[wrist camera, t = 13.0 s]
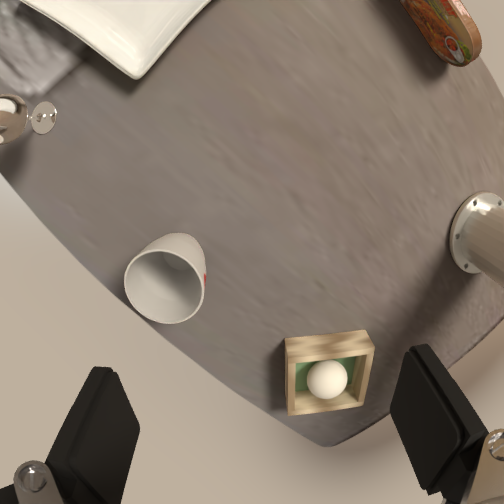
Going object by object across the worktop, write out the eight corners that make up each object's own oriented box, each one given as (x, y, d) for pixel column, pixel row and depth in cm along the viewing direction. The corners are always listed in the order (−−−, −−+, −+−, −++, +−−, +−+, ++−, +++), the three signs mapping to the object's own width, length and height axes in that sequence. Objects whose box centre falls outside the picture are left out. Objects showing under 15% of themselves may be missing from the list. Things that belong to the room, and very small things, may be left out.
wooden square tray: (365, 329, 45) (374, 347, 41) (355, 386, 49) (362, 405, 45) (284, 338, 45) (288, 358, 41) (285, 395, 49) (287, 415, 45)
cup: (184, 292, 42) (169, 336, 33) (137, 251, 40) (109, 287, 31) (226, 251, 40) (221, 289, 31) (178, 206, 38) (156, 231, 29)
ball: (344, 349, 46) (353, 376, 40) (341, 377, 48) (348, 404, 42) (305, 353, 46) (310, 380, 40) (304, 381, 48) (308, 409, 42)
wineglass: (49, 87, 32) (-9, 81, 20) (67, 119, 33) (9, 121, 22) (22, 116, 33) (-37, 120, 21) (39, 147, 34) (-20, 159, 23)
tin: (380, -23, 27) (407, -48, 19) (396, -28, 27) (424, -52, 19) (443, 71, 32) (481, 63, 24) (457, 63, 31) (495, 56, 23)
